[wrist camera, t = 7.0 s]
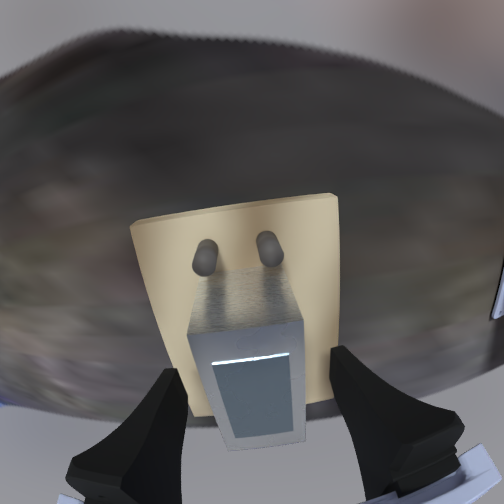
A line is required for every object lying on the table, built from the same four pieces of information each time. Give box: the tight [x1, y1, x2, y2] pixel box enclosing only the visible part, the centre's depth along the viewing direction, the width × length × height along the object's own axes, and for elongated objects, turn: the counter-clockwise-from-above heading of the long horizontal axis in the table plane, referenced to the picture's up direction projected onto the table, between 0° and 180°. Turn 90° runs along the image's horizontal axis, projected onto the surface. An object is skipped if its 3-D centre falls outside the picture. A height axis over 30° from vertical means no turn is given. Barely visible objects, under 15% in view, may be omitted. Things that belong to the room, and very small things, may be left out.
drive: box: [186, 263, 306, 451], centre depth 13 cm, size 4×8×5 cm, turn 7°
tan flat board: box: [130, 193, 340, 417], centre depth 15 cm, size 10×14×3 cm
